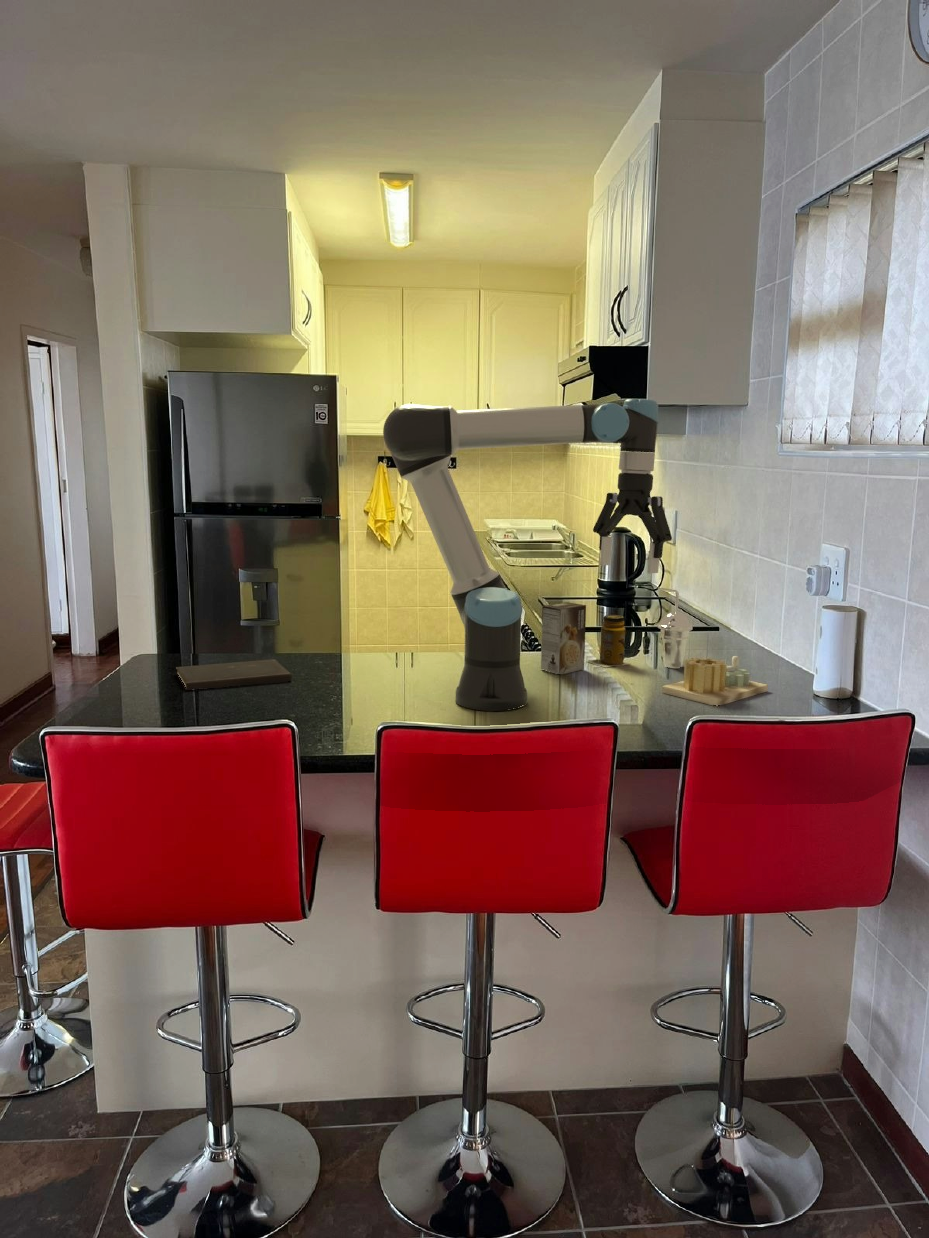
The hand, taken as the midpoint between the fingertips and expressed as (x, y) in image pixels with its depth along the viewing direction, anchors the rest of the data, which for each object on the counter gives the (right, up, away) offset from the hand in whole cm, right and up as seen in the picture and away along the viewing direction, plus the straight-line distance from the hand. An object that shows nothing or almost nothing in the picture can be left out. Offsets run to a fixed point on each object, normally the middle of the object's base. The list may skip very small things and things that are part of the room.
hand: (628, 569), depth 200 cm
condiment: (0, -22, +27) cm, 35 cm away
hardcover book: (-89, -25, +6) cm, 93 cm away
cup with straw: (+15, -23, +25) cm, 37 cm away
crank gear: (+23, -25, +4) cm, 35 cm away
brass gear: (+16, -26, -2) cm, 31 cm away
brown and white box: (-13, -24, +19) cm, 33 cm away
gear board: (+20, -27, +1) cm, 34 cm away
